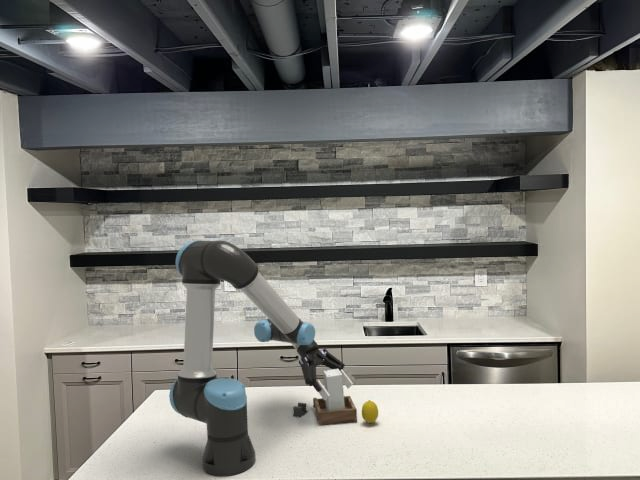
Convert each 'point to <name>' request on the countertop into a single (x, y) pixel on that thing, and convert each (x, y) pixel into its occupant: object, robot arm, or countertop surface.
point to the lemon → (369, 411)
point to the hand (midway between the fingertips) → (339, 392)
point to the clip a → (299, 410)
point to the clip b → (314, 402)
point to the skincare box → (334, 389)
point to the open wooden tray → (335, 413)
